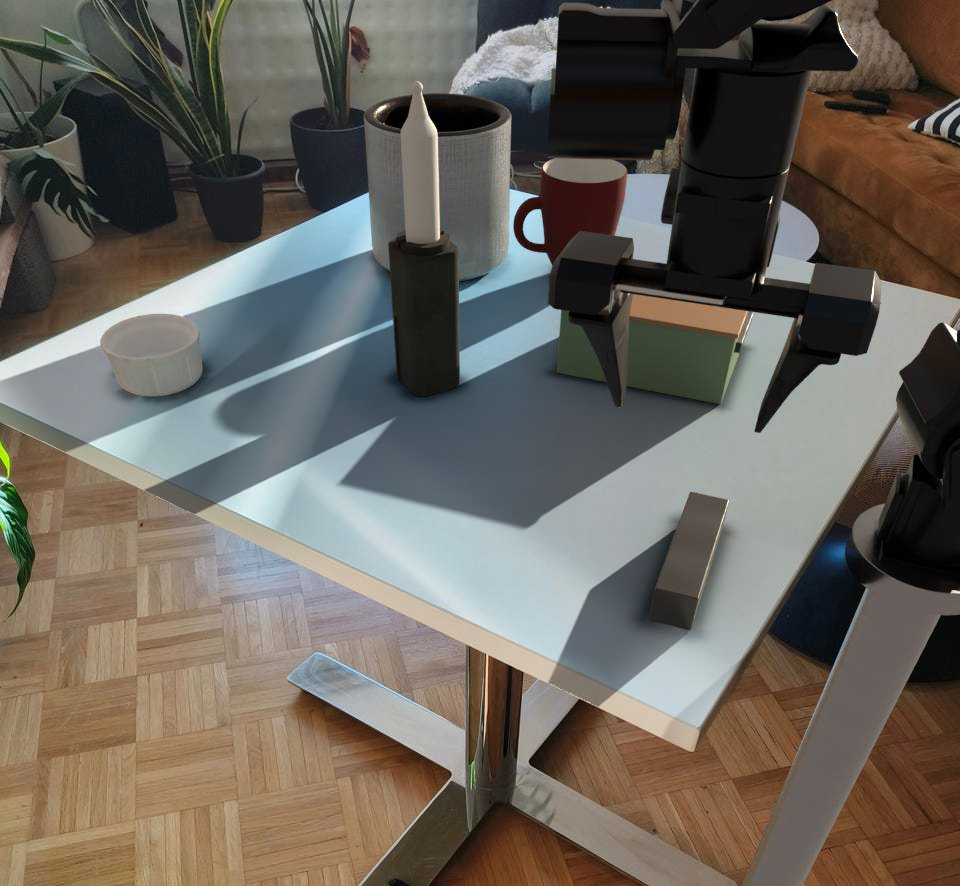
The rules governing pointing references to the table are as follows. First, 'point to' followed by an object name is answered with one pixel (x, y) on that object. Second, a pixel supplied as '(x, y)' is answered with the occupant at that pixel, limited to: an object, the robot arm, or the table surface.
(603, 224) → the mug
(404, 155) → the candle
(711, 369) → the bread box
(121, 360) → the ramekin
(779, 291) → the robot arm
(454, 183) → the planter
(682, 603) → the stick
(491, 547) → the table surface
